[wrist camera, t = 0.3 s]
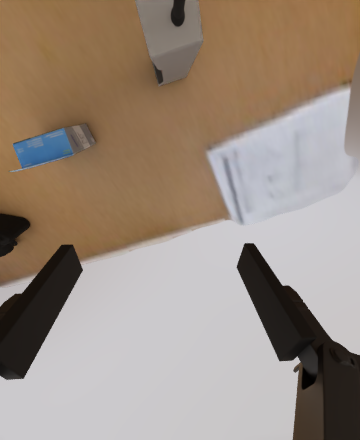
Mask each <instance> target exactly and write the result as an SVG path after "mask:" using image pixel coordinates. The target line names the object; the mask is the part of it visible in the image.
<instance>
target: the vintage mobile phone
mask: <svg viewBox="0 0 360 440" xmlns="http://www.w3.org/2000/svg"><path fill="white" fill-rule="evenodd" d="M135 2H136V6H137V10H138V14H139V17H140V21H141V25H142V29H143V33H144V36H145V40H146V44H147V48H148V52H149V55H150V58H151V60H152V63H153V66H154V70H155V74H156V78H157V82H158V86H161V85H164V84H167V83H171V82H174V81H177V80H180V79H183V78H186V76H187V74H188V72H189V70H190V68H191V66H192V64H193V62H194V60H195V58H196V55H197V53H198V51H199V49H200V47H201V45H202V43H203V33H202V25H201V18H200V10H199V2H198V0H135Z"/></svg>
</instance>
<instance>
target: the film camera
mask: <svg viewBox="0 0 360 440" xmlns="http://www.w3.org/2000/svg"><path fill="white" fill-rule="evenodd" d="M29 226H30V224H29V222H28V221H27V220H26V219H25V218H21V217H16V216H11V215H5V214H0V257H2V256H5V255H6V254H8V253H10V252H11V251H12V250H13V249H14V246H16V245H17V242H16V241H15V240H14V239H16V238H17V237H18V236H19V235H20V234H22V233H23V232H24V231H25V230H27V229H28V228H29ZM14 244H15V245H14Z"/></svg>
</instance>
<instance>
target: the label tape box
mask: <svg viewBox="0 0 360 440" xmlns="http://www.w3.org/2000/svg"><path fill="white" fill-rule="evenodd" d="M94 144H96V142H95V140H94V138H93V136H92V135H91V133H90V131H89V129H88V127H87V125H86V123H85V124H81V125H76V126H70V127H65V128H61V129H57V130H54V131H51V132H48V133H45V134H41V135H38V136H35V137H32V138H29V139H26V140H23V141H20V142H16V143H13V147H14V149H15V152H16V154H17V157H18V159H19V162H20V164H21V166H22V169H19V170H14V171H9V172H15V171H20V170H24V169H28V168H32V167H35V166H39V165H42V164H46V163H49V162H53V161H56V160H59V159H63V158H66V157H69V156H73V155H74V154H76V153H78V152H80V151H82V150H84V149H86V148H88V147H90V146H92V145H94Z"/></svg>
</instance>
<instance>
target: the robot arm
mask: <svg viewBox="0 0 360 440" xmlns="http://www.w3.org/2000/svg"><path fill="white" fill-rule="evenodd" d="M237 269H238V271H239V273H240V275H241V278H242V280H243V282H244V284H245V286H246V289H247V291H248V293H249V295H250V297H251V300H252V302H253V304H254V306H255V308H256V311H257V313H258V315H259V317H260V319H261V322H262V324H263V326H264V328H265V330H266V333H267V335H268V337H269V339H270V341H271V343H272V346H273V348H274V350H275V352H276V354H277V357H278V359H279V361H291V360H294V359H295V358H296V357H297V356H298V358H299V360H300V361H301V362H300V363H299V364H298V365H297V366H296V367H295V368H294V372H297V371H298V370H299V375H298V386H297V398H296V409H295V421H294V433H293V440H360V355H357V354H354V353H351V352H349V351H348V350H347V349H346V348H345V347H343V346H342V345H341V344H339V343H337V342H334V341H333V340H332V339H331V338H330V337H329V336H328V334H327V333H326V332H325V330H324V329H323V328H322V326H321V325H320V323H319V322H318V321H317V319H316V318H315V317H314V315H313V314H312V313H311V311H310V310H309V309H308V307H307V306H306V304H305V303H304V302H303V300H302V299H301V298H300V296H299V295H298V293H297V292H296V291H294V290H293V289H292V288H291V287H290V286H282V284H281V283H280V282H279V280H278V279H277V277H276V276H275V274H274V273H273V271H272V270H271V268H270V267H269V265H268V264H267V262H266V261H265V259H264V258H263V256H262V255H261V253H260V252H259V250H258V249H257V247H256V246H255V245H254V244H253V243H245V244H244V247H243V250H242V253H241V256H240V259H239V262H238V265H237ZM82 271H83V269H82V267H81V264H80V261H79V259H78V256H77V254H76V251H75V249H74V246H73V245H61V246H60V248H59V249H58V250H57V251H56V252H55V254H54V255H53V256H52V257H51V259H50V260H49V261H48V262H47V263H46V265H45V266H44V267H43V268H42V270H41V271H40V272H39V273H38V274H37V276H36V277H35V278H34V279H33V281H32V282H31V283H30V284H29V286H28V287H27V288H26V289H25V290H24V292H23V293H22V294H14V295H13V296H12V297H11V298H9V299H8V300H7V301H5V302H4V303H3V304H2V305H1V307H0V376H1V377H3V378H5V379H7V380H8V379H23V378H24V377H25V375H26V373H27V371H28V370H29V368H30V366H31V364H32V362H33V360H34V359H35V357H36V355H37V353H38V351H39V349H40V348H41V346H42V344H43V342H44V340H45V338H46V337H47V335H48V333H49V331H50V329H51V328H52V326H53V324H54V322H55V320H56V318H57V317H58V315H59V312H60V311H61V309H62V307H63V306H64V304H65V302H66V300H67V298H68V296H69V295H70V293H71V291H72V289H73V287H74V285H75V283H76V282H77V280H78V278H79V276H80V274H81V273H82Z"/></svg>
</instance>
